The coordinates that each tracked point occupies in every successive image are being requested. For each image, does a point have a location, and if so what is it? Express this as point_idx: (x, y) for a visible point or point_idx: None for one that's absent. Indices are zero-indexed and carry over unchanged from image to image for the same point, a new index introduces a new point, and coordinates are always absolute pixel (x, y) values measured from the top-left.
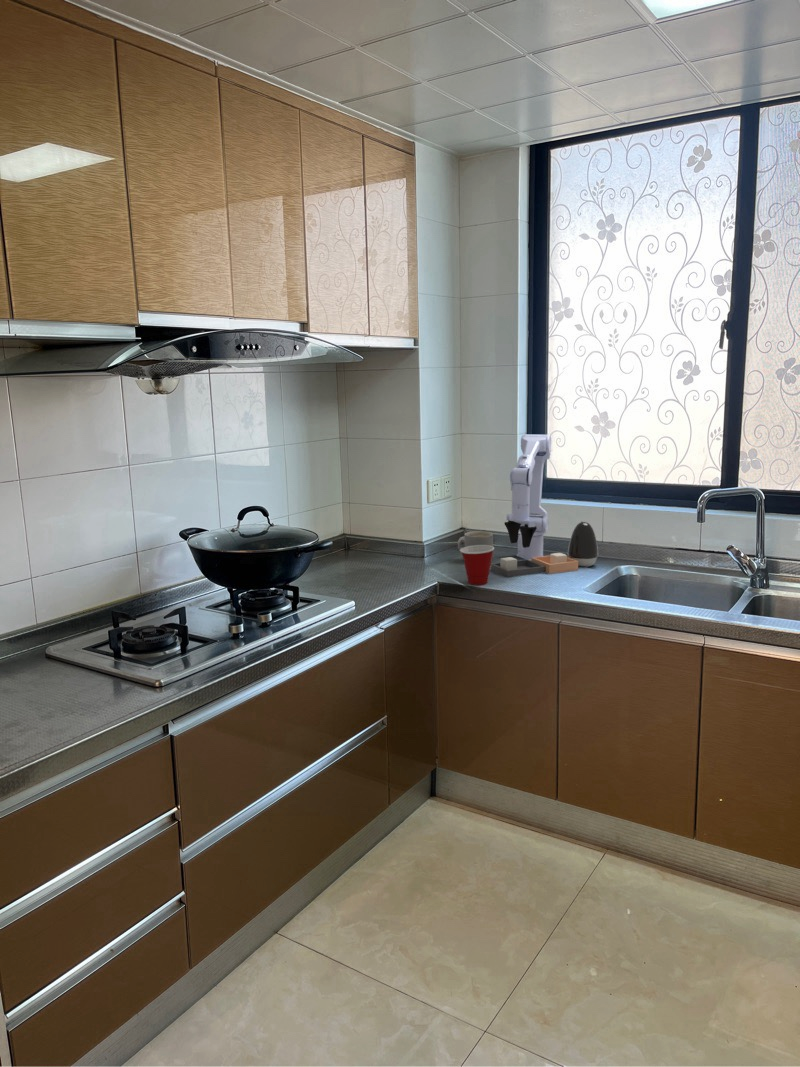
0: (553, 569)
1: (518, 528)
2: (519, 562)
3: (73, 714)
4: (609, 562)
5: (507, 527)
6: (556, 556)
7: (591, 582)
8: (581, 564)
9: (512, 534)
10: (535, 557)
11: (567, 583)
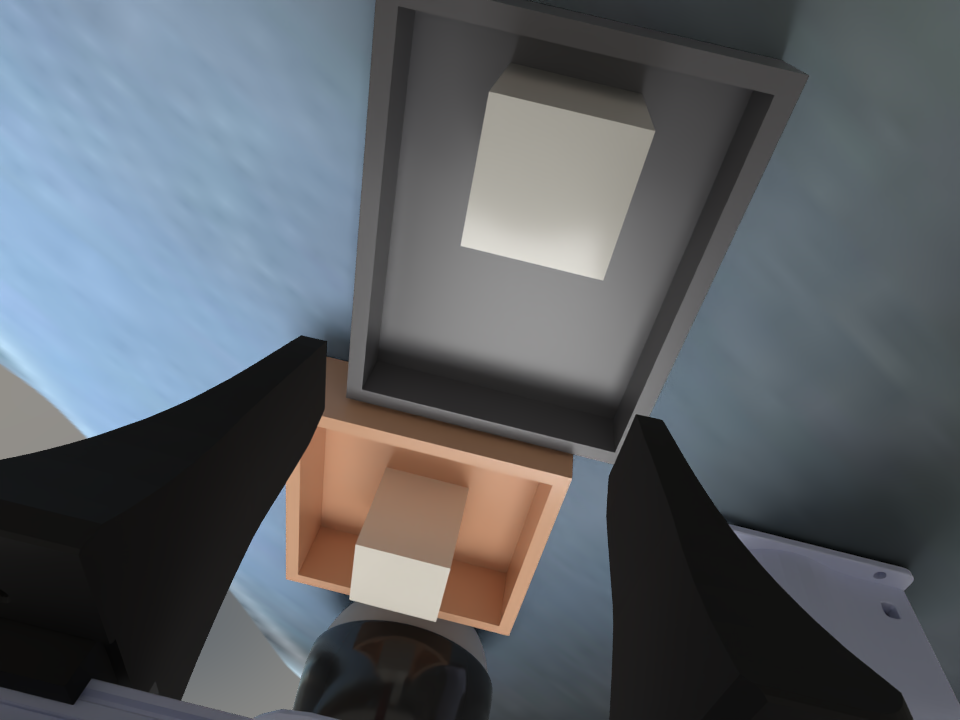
0: None
1: (615, 691)
2: (639, 384)
3: None
4: None
5: (764, 616)
6: (358, 543)
7: (65, 406)
8: None
9: (650, 530)
10: (551, 498)
11: (80, 289)
